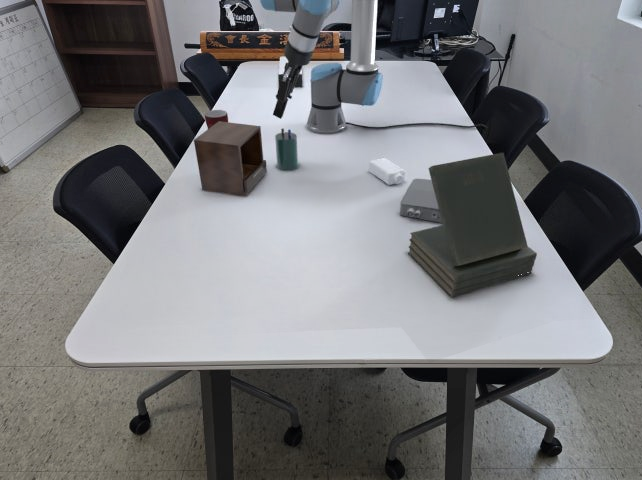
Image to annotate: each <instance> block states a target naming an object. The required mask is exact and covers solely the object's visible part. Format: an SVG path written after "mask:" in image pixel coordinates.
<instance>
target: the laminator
mask: <svg viewBox="0 0 642 480" xmlns="http://www.w3.org/2000/svg"><path fill="white" fill-rule="evenodd" d="M286 63H288V60H287V58H286V57H285V55H283V56H279V63H278V65H277V67H278V74H277V77H278V85H279V84H280V77H281V74H284V70H285V69H284V67H285V64H286ZM296 87H297V88H299V87H302V88H303V68H302V69H301V71H300V74H299V76H298V79H297V81H296V84H295V86H294V88H296Z"/></svg>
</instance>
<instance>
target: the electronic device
mask: <svg viewBox="0 0 642 480" xmlns="http://www.w3.org/2000/svg"><path fill="white" fill-rule="evenodd" d="M399 215H400V216H403V217H410V218H415V219H420V220H425V221H430V222H435V223H441V224H443V223H442V219H441V215H440V211H439V208H438V204H437V200H436V196H435V192H434V188H433V184H432V180H431V179H426V178H414V179H413V180H412V181H411V182H410V184H409V186H408V188H407V189H406V191H405V193H404V194H403V197H402V199H401V200H400V207H399Z"/></svg>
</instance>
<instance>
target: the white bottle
mask: <svg viewBox="0 0 642 480" xmlns="http://www.w3.org/2000/svg"><path fill="white" fill-rule="evenodd" d="M368 172H370V173H371V174H372V175H374V176H375V177H377V178H378V179H380V180H381V181H383V182H384V183H385V184H386V185H388V186H391V185H400V184H401V183H403V182H404V181H405V175H406V170H405V169H404V168H402V167H401V166H398V165H397V164H395V163H393V162H392V161H390V160H389V159H387V158H385V157H382V158H377V159H371V160H370V161H369V165H368Z"/></svg>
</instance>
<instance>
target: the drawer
mask: <svg viewBox="0 0 642 480" xmlns="http://www.w3.org/2000/svg"><path fill="white" fill-rule="evenodd" d="M242 166H243V175H244V186H245V193H247V194H249V192H250V191H251V190H253V188H254V187H255V186H256V185H257V184H258V183H259V182H260V180H262V178H263V177H264V176H265V175H266V174H267V173H268V170H267V169H268V168H267V167H268V166H267V159H263V161H262V162H261V163H260V164H259V165H258V166H254V165H247V164H242Z"/></svg>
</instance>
